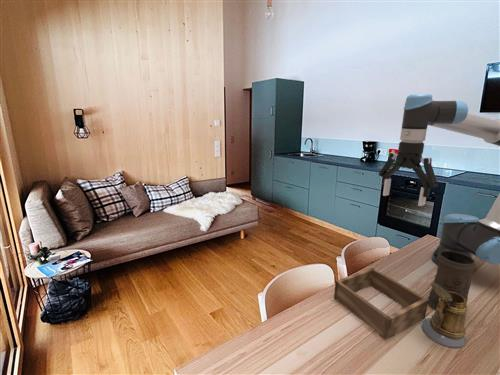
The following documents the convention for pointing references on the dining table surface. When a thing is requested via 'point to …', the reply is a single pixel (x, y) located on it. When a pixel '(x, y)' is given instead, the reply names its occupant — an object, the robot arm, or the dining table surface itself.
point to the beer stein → (452, 275)
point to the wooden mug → (449, 313)
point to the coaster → (441, 336)
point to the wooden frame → (373, 315)
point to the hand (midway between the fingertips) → (402, 200)
